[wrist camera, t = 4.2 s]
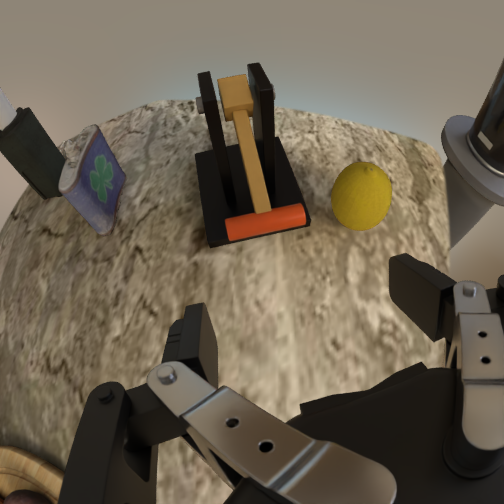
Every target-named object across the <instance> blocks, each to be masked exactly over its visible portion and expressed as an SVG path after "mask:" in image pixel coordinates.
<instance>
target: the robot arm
mask: <svg viewBox="0 0 504 504" xmlns="http://www.w3.org/2000/svg"><path fill="white" fill-rule="evenodd" d="M466 142H467V145H468V147H469V149H470V151H471V153H472V154H473V155H474V157H475V158H476V159H477V160H478V162H479V163H480V164H481V165H482V166H483V167H485V168H486V169H487V170H488V171H490V172H491V173H492V174H494V175H496V176H498V177H501V178H504V58H503V61H502V63H501V66H500V68H499V70H498V73H497V75H496V77H495V80H494V82H493V84H492V86H491V88H490V91H489V93H488V95H487V97H486V99H485V101H484V103H483V105H482V107H481V109H480V111H479V113H478V115H477V117H476V119H475V121H474V123H473V124H472V126H471V128H470V129H469V130H468V132H467V134H466ZM389 293H390V297H391V299H392V301H393V302H394V303H395V304H396V305H397V306H398V307H399V308H400V309H401V310H402V311H403V312H404V313H405V314H406V315H407V316H408V317H409V318H410V319H411V320H412V321H413V322H414V323H415V324H416V325H417V326H418V327H419V328H420V329H421V330H422V331H423V332H424V333H425V334H426V335H427V336H428V337H429V338H430V339H431V340H432V341H433V342H435V341H437V340H440V339H442V338H444V337H445V338H446V339H445V344H444V361H443V367H441V368H430V369H427V367H426V366H425V365H424V364H423V363H422V362H419V363H417V364H415V365H413V366H410V367H408V368H405V369H403V370H401V371H398V372H396V373H394V374H393V375H391V376H390V377H388V378H387V379H385V380H384V381H382V382H381V383H379V384H377V385H376V386H374V387H373V388H371V389H369V390H365V391H358V392H351V393H343V394H335V395H330V396H327V397H323V398H320V399H316V400H313V401H309V402H305V403H302V404H300V410H301V414H299V415H297V416H295V417H294V418H292V419H291V420H289V421H288V422H286V423H284V422H283V421H281V420H279V419H278V418H276V417H274V416H273V415H271V414H269V413H268V412H266V411H265V410H263V409H261V408H260V407H258V406H257V405H255V404H253V403H252V402H250V401H249V400H247V399H246V398H244V397H243V396H241V395H240V394H238V393H237V392H235V391H234V390H232V389H231V388H229V387H227V386H222V387H220V388H219V389H218V346H217V340H216V336H215V332H214V329H213V326H212V323H211V320H210V317H209V314H208V311H207V308H206V305H205V303H204V302H203V303H198V304H193V305H188V306H186V309H185V314H184V319H179V320H176V321H175V322H174V323H173V325H172V326H171V327H170V329H169V333H168V337H167V341H166V343H167V344H166V345H165V350H164V354H163V358H162V362H161V364H160V365H158V366H156V367H155V368H153V369H152V370H151V371H150V373H149V374H148V376H147V383H145V384H143V385H141V386H138V387H135V388H132V389H129V390H125V389H124V387H123V386H122V385H121V384H120V383H118V382H106V383H103V384H101V385H99V386H97V387H96V388H95V389H94V390H93V391H92V392H91V393H90V394H89V397H88V399H87V402H86V405H85V408H84V411H83V414H82V417H81V420H80V423H79V426H78V429H77V432H76V435H75V438H74V442H73V445H72V448H71V452H70V455H69V459H68V462H67V466H66V470H65V473H64V477H63V481H62V485H61V489H60V494H59V498H58V503H57V504H156V484H157V461H158V445H159V443H162V442H165V441H168V440H171V439H174V438H177V437H179V436H180V438H181V439H182V440H183V441H184V442H185V443H186V444H187V445H188V446H189V447H190V448H191V449H192V450H193V451H194V452H195V453H196V454H197V455H198V456H199V457H200V458H201V459H202V460H203V461H204V462H205V463H206V464H208V465H209V466H210V467H211V468H212V469H213V471H214V472H215V473H216V474H217V475H218V476H219V477H220V478H221V479H222V480H223V481H224V482H225V483H226V484H227V485H228V486H229V487H230V488H231V489H233V492H232V493H231V494H230V496H229V497H228V498H227V500H226V501H225V502H224V503H223V504H504V275H501V276H500V277H499V278H498V283H497V288H493V289H488V290H485V288H484V286H482V285H481V284H479V283H477V282H474V281H461V282H458V283H457V282H455V281H454V280H453V279H451V278H450V277H448V276H447V275H445V274H444V273H441V272H440V271H439V270H437V269H435V268H434V267H433V266H431V265H429V264H428V263H425V262H421V261H418V260H417V259H415V258H414V257H412V256H410V255H409V254H407V253H403V254H400V255H396V256H393V257H391V258H390V259H389Z"/></svg>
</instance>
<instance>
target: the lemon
mask: <svg viewBox="0 0 504 504" xmlns="http://www.w3.org/2000/svg"><path fill="white" fill-rule="evenodd" d="M391 198H392V187H391V183H390V180H389V178H388V176H387V175H386V173H385V172H384V171H383V170H382V169H381V168H380V167H378V166H376V165H375V164H372V163H369V162H356V163H353V164H351V165H349V166H347V167H346V168H345V169H344V170H343V171H342V172H341V173H340V174H339V175H338V177H337V179H336V181H335V183H334V185H333V188H332V193H331V204H332V210H333V212H334V214H335V216H336V218H337V219H338V220H339V221H340V223H342V224H343V225H344V226H345V227H347V228H349V229H352V230H359V231H363V230H368V229H371V228H373V227H374V226H376V225H378V224H379V223H380V222H381V221H382V220H383V218H384V217H385V216H386V214H387V212H388V210H389V207H390V204H391Z"/></svg>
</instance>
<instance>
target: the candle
mask: <svg viewBox="0 0 504 504" xmlns="http://www.w3.org/2000/svg"><path fill="white" fill-rule="evenodd" d="M0 151H1V153H2V154H3V155H4V156H5V157H6V159H7V160H8V161H9V162H10V163H11V164H12V165H13V167H14V168H15V169H16V170H17V171H18V172H19V174H20V175H21V176H22V177H23V178H24V179H25V180H26V181H27V182H28V183H29V185H30V186H31V187H32V188H33V189H34V190H35V191H36V192H37V193H38V194H39V195H40V196H41V197H42V198H43V199H47V198H50V197H55V196H58V197H60V196H62V195H63V194H62V193H61V192H60V191H59V188H58V186H59V180H60V177H61V174H62V169H63V167H64V164H65V161H66V159H65V158H64V157H63V155H62V154H61V152H60V151H59V150H58V148H57V147H56V146H55V144H54V143H53V141H52V140H51V139H50V137H49V136H48V134H47V133H46V131H45V130H44V128H43V127H42V126H41V124H40V123H39V121H38V120H37V118H36V117H35V115H34V114H33V112H32V111H31V109H30V108H29V107H28V108H25V109H22V108H20V107H19V108H18V109H17V110H16V111H15V109H14V108H13V106H12V105H11V104H10V102H9V100H8V99H7V97H6V96H5V94H4V93H3V91H2V89H1V88H0Z"/></svg>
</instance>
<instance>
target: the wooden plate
mask: <svg viewBox="0 0 504 504" xmlns="http://www.w3.org/2000/svg"><path fill="white" fill-rule="evenodd" d="M63 477H64V472H63V471H61V470H60V469H58V468H57V467H55V466H54V465H52V464H51V463H49V462H47V461H46V460H44V459H42V458H40V457H38V456H37V455H35V454H33V453H30V452H28V451H26V450H23V449H21V448H18V447H14V446H0V504H57V503H58V498H59V494H60V489H61V485H62V481H63Z"/></svg>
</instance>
